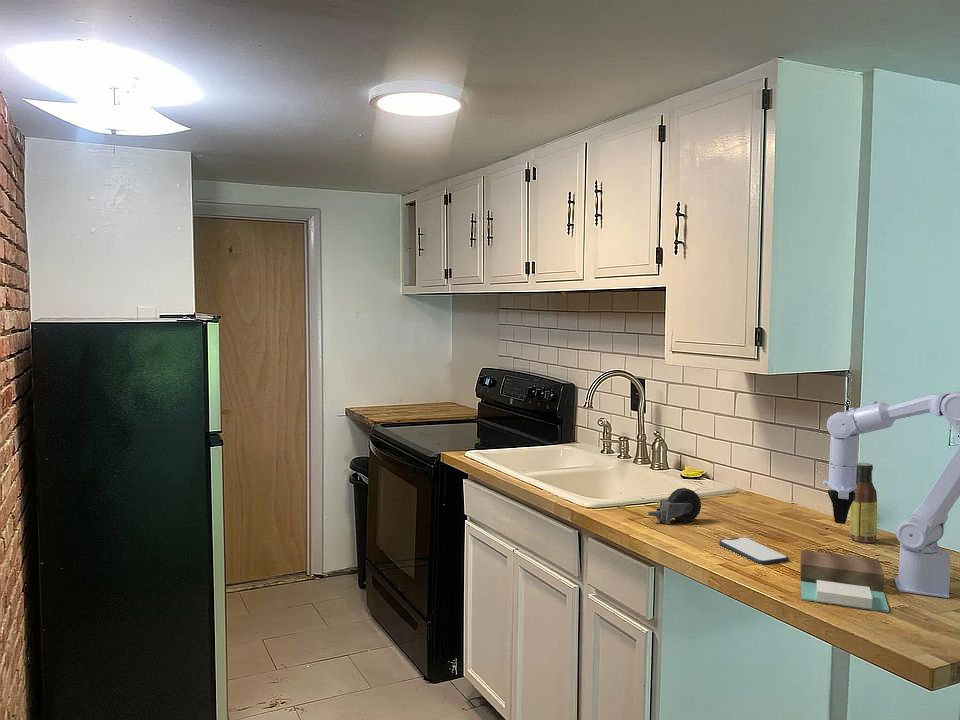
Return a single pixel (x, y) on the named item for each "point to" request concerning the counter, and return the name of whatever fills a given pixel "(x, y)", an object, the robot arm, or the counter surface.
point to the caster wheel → (678, 506)
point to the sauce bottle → (864, 506)
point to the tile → (844, 594)
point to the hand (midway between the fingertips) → (839, 522)
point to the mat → (810, 595)
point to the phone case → (753, 551)
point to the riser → (841, 569)
